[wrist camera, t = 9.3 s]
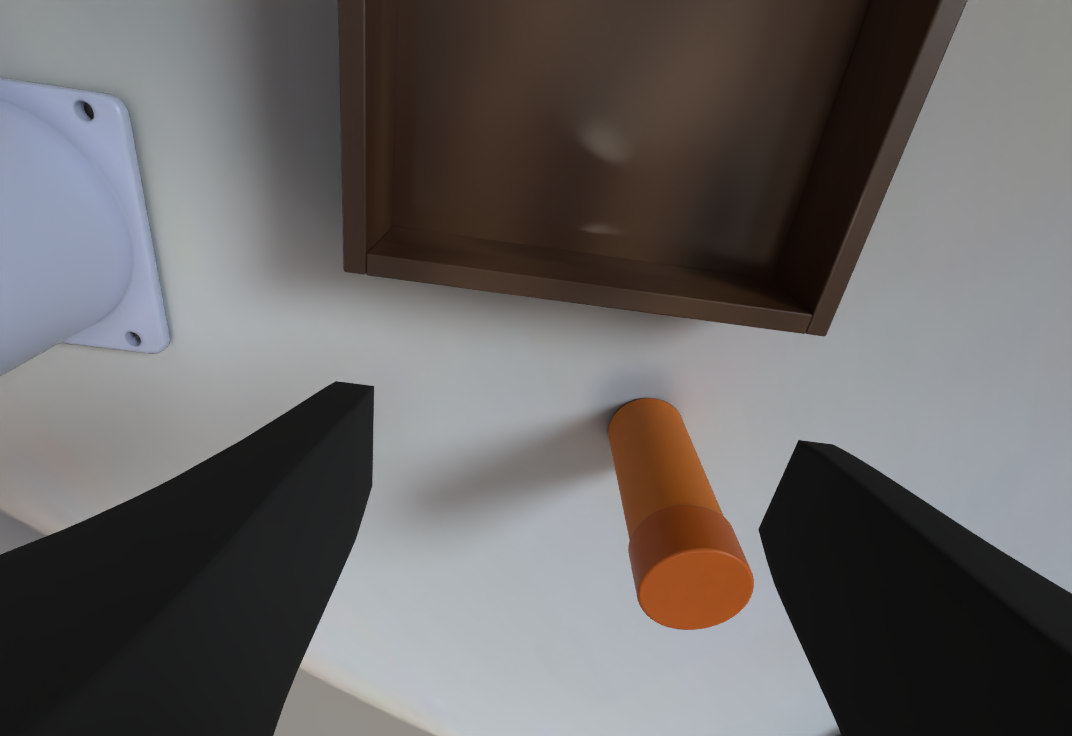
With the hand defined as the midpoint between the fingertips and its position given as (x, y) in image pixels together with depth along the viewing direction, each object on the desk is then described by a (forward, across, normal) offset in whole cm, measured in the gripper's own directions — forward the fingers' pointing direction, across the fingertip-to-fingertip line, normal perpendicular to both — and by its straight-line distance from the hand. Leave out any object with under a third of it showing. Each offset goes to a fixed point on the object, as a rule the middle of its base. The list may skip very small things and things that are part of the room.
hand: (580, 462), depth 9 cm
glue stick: (+10, -4, +5) cm, 12 cm away
